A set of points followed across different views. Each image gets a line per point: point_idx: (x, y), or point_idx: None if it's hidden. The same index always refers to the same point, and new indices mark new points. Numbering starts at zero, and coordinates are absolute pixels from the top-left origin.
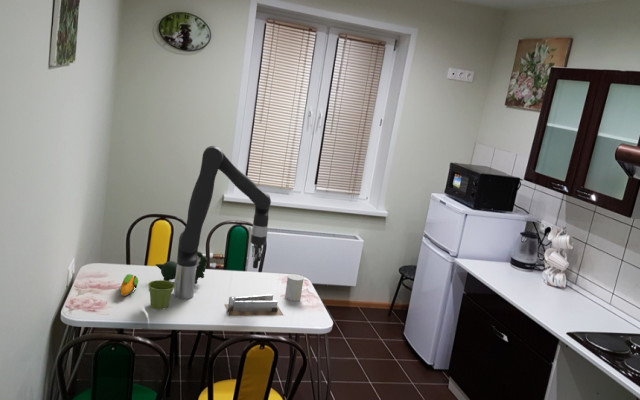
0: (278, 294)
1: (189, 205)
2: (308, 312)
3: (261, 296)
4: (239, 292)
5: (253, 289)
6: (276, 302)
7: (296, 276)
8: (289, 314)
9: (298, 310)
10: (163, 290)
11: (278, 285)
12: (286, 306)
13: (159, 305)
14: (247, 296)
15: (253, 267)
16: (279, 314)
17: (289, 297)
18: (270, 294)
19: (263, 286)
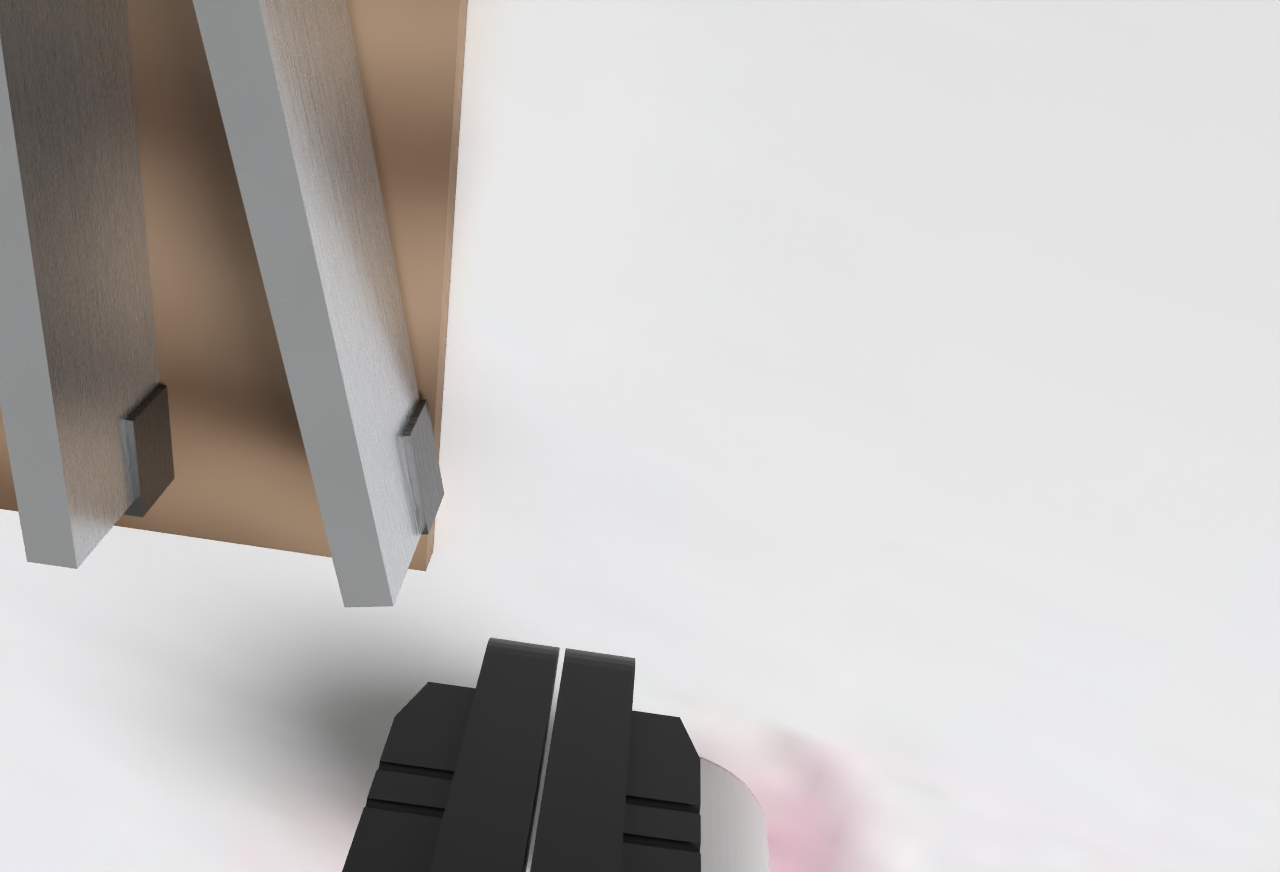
0: (861, 737)
1: None
2: (202, 830)
3: (288, 365)
4: (1172, 149)
5: (1199, 466)
6: (33, 534)
7: None
8: (119, 602)
9: (264, 754)
10: None
11: (1185, 856)
12: (407, 671)
13: None
14: (244, 16)
15: (489, 654)
16: (5, 457)
17: None
18: (370, 570)
19: (1248, 661)
